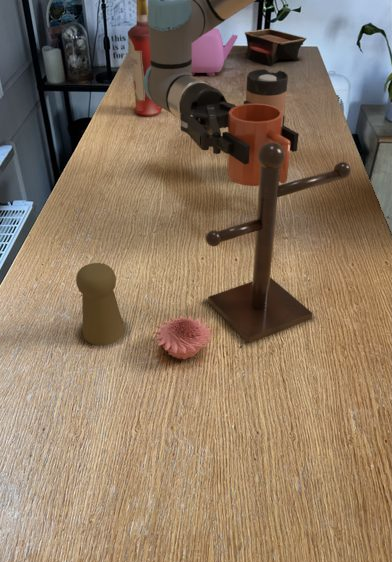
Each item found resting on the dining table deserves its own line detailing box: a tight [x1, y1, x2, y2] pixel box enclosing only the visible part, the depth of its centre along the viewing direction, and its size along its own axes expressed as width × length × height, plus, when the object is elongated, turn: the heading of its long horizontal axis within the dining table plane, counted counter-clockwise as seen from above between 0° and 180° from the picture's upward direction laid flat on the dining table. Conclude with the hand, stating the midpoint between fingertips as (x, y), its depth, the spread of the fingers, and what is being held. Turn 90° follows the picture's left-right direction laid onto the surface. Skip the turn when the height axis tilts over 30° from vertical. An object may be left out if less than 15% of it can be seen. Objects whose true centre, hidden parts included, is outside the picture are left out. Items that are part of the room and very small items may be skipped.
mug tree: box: [205, 142, 352, 344], centre depth 79 cm, size 22×11×26 cm, turn 120°
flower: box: [152, 314, 214, 360], centre depth 78 cm, size 8×8×6 cm
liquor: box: [127, 0, 163, 117], centre depth 139 cm, size 7×7×28 cm
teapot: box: [192, 27, 239, 77], centre depth 170 cm, size 20×12×13 cm, turn 86°
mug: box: [226, 103, 291, 187], centre depth 91 cm, size 13×8×10 cm, turn 30°
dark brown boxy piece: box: [244, 28, 307, 66], centre depth 180 cm, size 14×18×10 cm
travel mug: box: [245, 68, 289, 147], centre depth 114 cm, size 8×8×20 cm
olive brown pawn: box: [75, 262, 125, 346], centre depth 80 cm, size 6×6×11 cm
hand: (271, 148), depth 89 cm, fingers closed on mug, 8 cm apart
